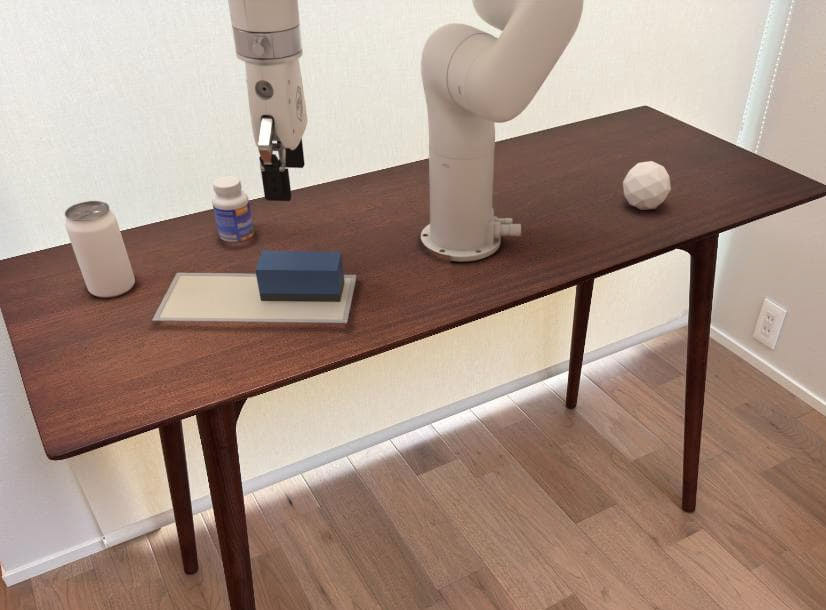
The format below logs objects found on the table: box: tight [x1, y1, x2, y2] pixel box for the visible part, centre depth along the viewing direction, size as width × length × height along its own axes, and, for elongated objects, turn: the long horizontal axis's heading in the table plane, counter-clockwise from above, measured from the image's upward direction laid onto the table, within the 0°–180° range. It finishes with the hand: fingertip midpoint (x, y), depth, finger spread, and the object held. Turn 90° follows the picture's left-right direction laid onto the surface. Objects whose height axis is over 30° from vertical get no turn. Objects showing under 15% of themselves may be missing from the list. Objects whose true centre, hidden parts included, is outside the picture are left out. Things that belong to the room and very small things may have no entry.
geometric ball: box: [622, 160, 672, 211], centre depth 131 cm, size 8×8×8 cm
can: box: [64, 200, 136, 299], centre depth 108 cm, size 6×6×12 cm
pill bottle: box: [211, 175, 255, 243], centre depth 120 cm, size 5×5×10 cm
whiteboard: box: [151, 272, 357, 324], centre depth 109 cm, size 26×12×1 cm, turn 90°
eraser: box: [254, 250, 345, 302], centre depth 108 cm, size 11×5×5 cm, turn 90°
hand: (285, 182), depth 100 cm, fingers open, 9 cm apart
